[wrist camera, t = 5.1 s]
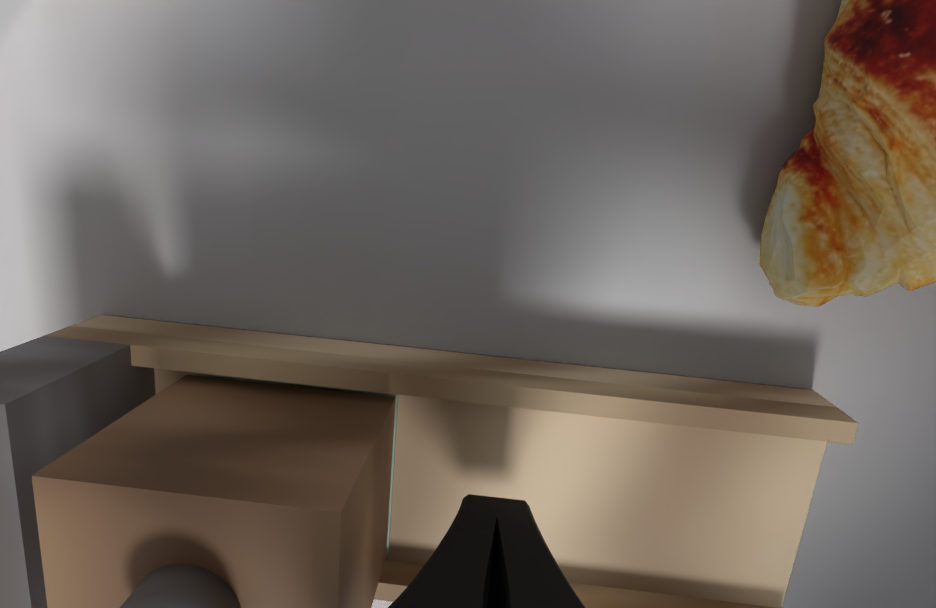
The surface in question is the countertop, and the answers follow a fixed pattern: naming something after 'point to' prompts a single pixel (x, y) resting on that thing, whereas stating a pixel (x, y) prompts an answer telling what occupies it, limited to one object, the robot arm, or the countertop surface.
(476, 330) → the countertop surface
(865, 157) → the croissant
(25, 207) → the countertop surface
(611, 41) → the countertop surface
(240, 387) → the carriage
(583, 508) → the rail
